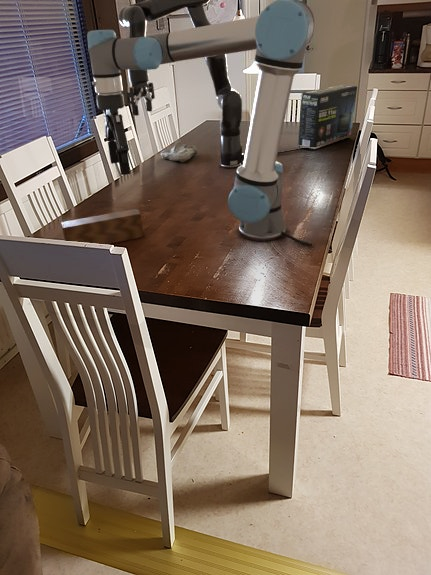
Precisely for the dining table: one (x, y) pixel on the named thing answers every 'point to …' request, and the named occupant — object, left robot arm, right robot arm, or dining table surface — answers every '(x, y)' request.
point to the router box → (326, 115)
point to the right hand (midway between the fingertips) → (120, 168)
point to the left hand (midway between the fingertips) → (142, 113)
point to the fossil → (179, 152)
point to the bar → (105, 228)
